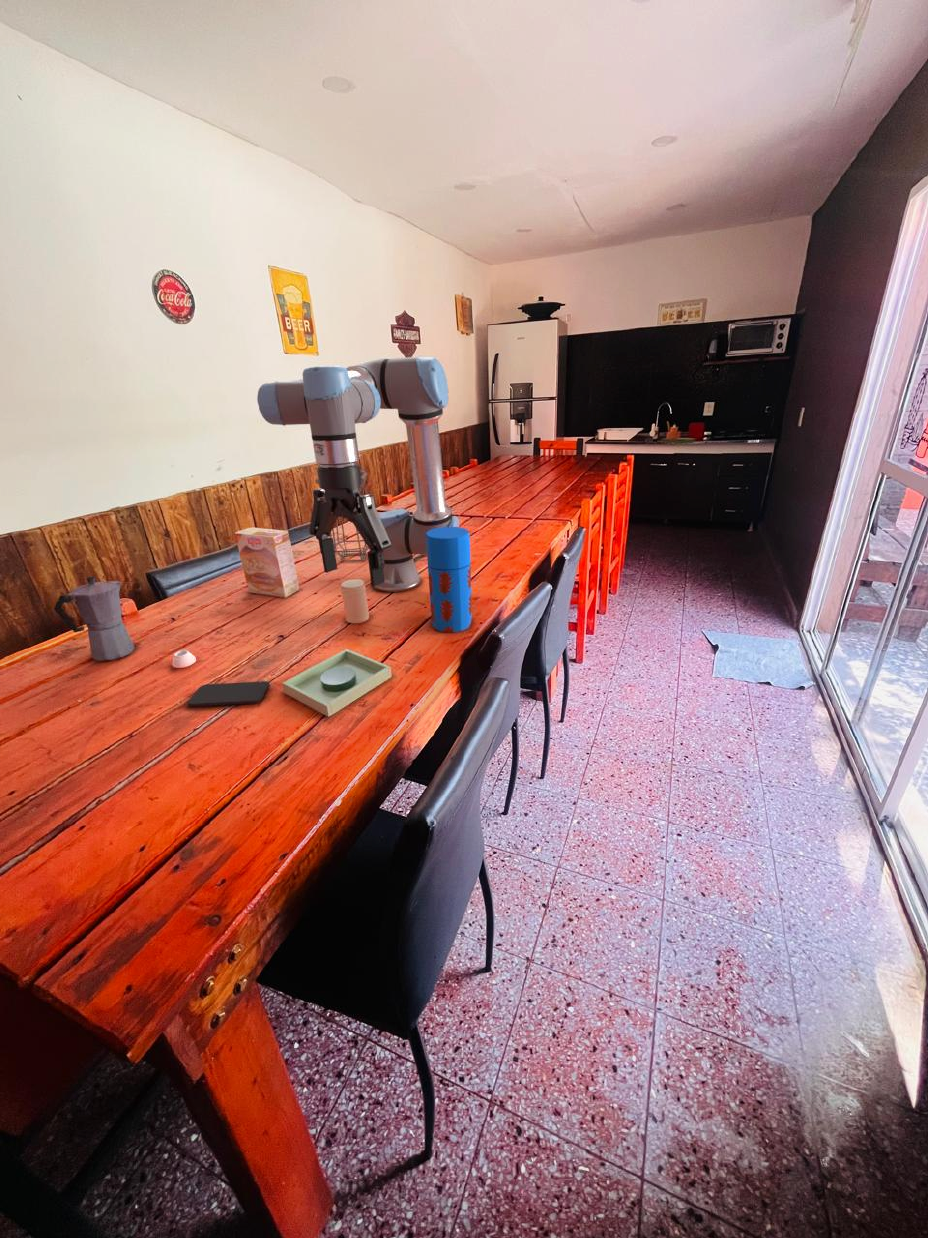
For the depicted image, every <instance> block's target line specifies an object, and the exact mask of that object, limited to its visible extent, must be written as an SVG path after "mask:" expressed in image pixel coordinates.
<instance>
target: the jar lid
mask: <svg viewBox="0 0 928 1238" xmlns="http://www.w3.org/2000/svg"><path fill="white" fill-rule="evenodd" d="M320 680H321V685H322V688H323V689H324V690H326V691H329V692H340V691H344V690H347V689H349V688H351V687H352V686H353V685H354V684H355V683H356V675H355V671H354V670H353V669H352V668H350V667H335V668H331V669H329V670H327V671H325V672H324V673H323V674H322V675H321V677H320Z"/></svg>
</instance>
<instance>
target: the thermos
mask: <svg viewBox="0 0 928 1238" xmlns="http://www.w3.org/2000/svg"><path fill="white" fill-rule="evenodd" d="M426 547H427V555H426V559H427V573H428V574H427V575H428V591H429V603H430V605H429V606H430V615H431V623H432V627H433V628H434V629H435V630H437V631H439V632H443V633H457V632H463V631H465V630H467V629H469V628H470V627H471V625H472V620H473V619H472V618H473V617H472V615H473V609H472V608H473V607H472V606H473V603H472V602H473V600H472V599H473V598H472V569H471V568H472V566H471V564H472V563H471V537H470V532H469V529H467V528H464V527H461V526H459V527H440V528H435V529H432V530H429V531H428V532H427V533H426Z"/></svg>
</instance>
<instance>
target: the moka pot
mask: <svg viewBox="0 0 928 1238" xmlns="http://www.w3.org/2000/svg"><path fill="white" fill-rule="evenodd" d="M86 580H87V582H88V583H87V584H82V585H79V586H78V587H75V588H73V589H71V590H69V593H67V594H61V595H59V596H58V598H57V601H56V604H55V606H54V608H53V609H54V611H55V613H56V614H57V615H59V616H60V618H61V619H62V620H63V621H64V623H65V624H66V625H67V626H68V627H69V628H70V629H71V631H73V632H74V633H80V632H83V631H85V626H86V628H87V635H88V641H89V647H90V656H91V657H92V659H93V660H94V661H97V662H105V661H112V660H118V659H121V658H124V657H125V656H128V655H130V654H132V653H133V652H134V650H135V644H134V643H133V641H132V638H131V636H130V634H129V632H128V630H127V627H126V623H125V622H123V618H122V615H123V612H122V611H123V610H122V606H121V598H120V589H121V586H122V584H123V582H122V581H118V580H110V581H109V580H108V581H97V582H96V577H95V576H90V577H86ZM65 603H66V604H67V603H68V604H71V603H74V604H75V605H76V607H77V610H78V612H79V614H80V615H81V618H82V620H83V621H84V623H85V626H83V625H82V626H79V627H78V626H77V625H76V624H74V622H73V621H72V619H71V618H70V616H69V615H68V614H67V612H66V611H65V609H63V608H62V607H63V604H65Z"/></svg>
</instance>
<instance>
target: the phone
mask: <svg viewBox="0 0 928 1238" xmlns="http://www.w3.org/2000/svg"><path fill="white" fill-rule="evenodd" d="M270 686H271V685H270V682H269V681H267V680H261V681H248V682H247V681H245V682H225V683H224V682H223V683H209V684H202V685H200V686H199V687H198V689H196V691H195V692H194V693H193V695H192V696H191V697H190V698H189V699H188V701H187V705H188V706H189V707H193V708H194V707H195V708H196V707H211V706H213V707H214V706H215V707H216V706H230V705H248V704H250V705H251V704H258V703H260V702H261V701H262V700H263V699H264V697H265V695H266V693H267V691H268V690H269V688H270Z"/></svg>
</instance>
